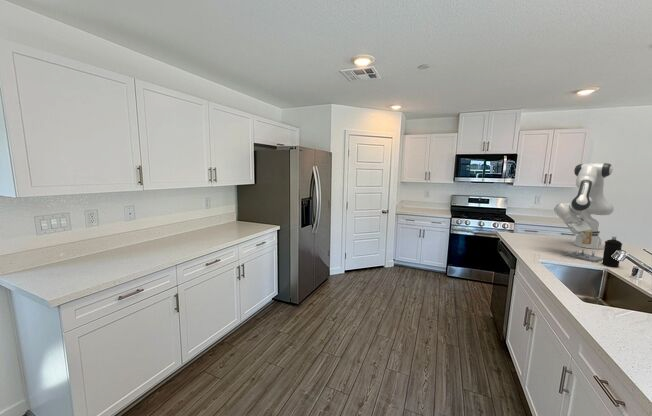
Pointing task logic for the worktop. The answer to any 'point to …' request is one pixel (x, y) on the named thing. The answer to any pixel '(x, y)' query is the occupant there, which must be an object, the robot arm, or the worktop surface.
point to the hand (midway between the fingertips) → (588, 237)
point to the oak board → (589, 237)
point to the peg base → (585, 256)
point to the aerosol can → (611, 252)
